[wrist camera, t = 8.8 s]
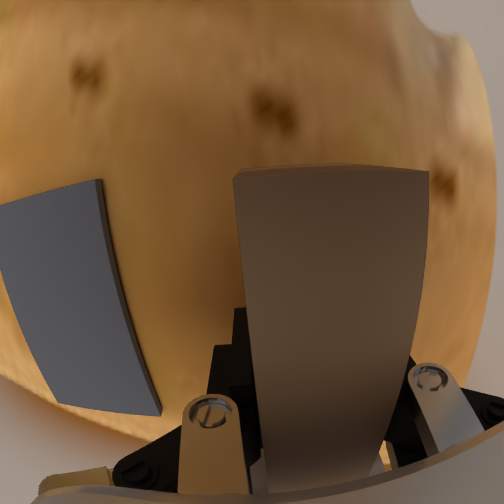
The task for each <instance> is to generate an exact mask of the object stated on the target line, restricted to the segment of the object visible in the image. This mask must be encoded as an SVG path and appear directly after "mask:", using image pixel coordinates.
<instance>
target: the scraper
mask: <svg viewBox="0 0 504 504" xmlns="http://www.w3.org/2000/svg"><path fill="white" fill-rule="evenodd" d="M233 187H234V197H235V207H236V216H237V226H238V236H239V245H240V254H241V264H242V273H243V282H244V291H245V300H246V309H247V318H248V327H249V335H250V344H251V353H252V361H253V370H254V378H255V386H256V395H257V403H258V411H259V419H260V427H261V435H262V443H263V449H261V458H260V459H259V460H258V461H257V462H256V463H254V464H253V465H252V466H251V467H250V471H251V478H252V484H253V491H254V494H267V493H279V492H289V491H297V490H305V489H312V488H318V487H324V486H329V485H335V484H340V483H344V482H349V481H353V480H358V479H362V478H366V477H370V476H373V475H377V474H380V473H384V472H386V471H385V468H384V465H383V462H382V460H381V457H380V454H379V450H380V448H381V445H382V442H383V440H384V437H385V435H386V432H387V429H388V426H389V423H390V421H391V418H392V415H393V412H394V409H395V406H396V402H397V399H398V396H399V393H400V389H401V386H402V382H403V379H404V375H405V371H406V367H407V363H408V359H409V355H410V351H411V346H412V342H413V337H414V332H415V327H416V322H417V317H418V311H419V305H420V299H421V292H422V285H423V277H424V269H425V259H426V248H427V235H428V216H429V172H428V171H420V170H411V169H403V168H393V167H383V166H371V165H358V164H342V163H331V164H307V165H289V166H275V167H262V168H250V169H241V170H240V171H239V173H238V174H237V175H236V176H235V177H234V178H233Z"/></svg>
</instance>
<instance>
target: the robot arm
mask: <svg viewBox="0 0 504 504" xmlns="http://www.w3.org/2000/svg"><path fill="white" fill-rule="evenodd" d="M384 440H385V441H386V448H387V451H388V455H389V459H390V463H391V467H392V470H391V471H387V472H384V473H380V474H377V475H373V476H370V477H366V478H362V479H358V480H353V481H349V482H344V483H340V484H335V485H329V486H324V487H318V488H312V489H305V490H297V491H289V492H279V493H267V494H254V491H253V484H252V478H251V471H250V467H251V466H252V465H253V464H254V463H256V462H257V461H258V460H259V459H260V458H261V449H263V443H262V435H261V427H260V419H259V411H258V403H257V395H256V386H255V378H254V370H253V361H252V353H251V344H250V335H249V327H248V318H247V309H246V307H244V308H235V310H234V322H233V334H232V344H227V345H215V346H214V351H213V357H212V363H211V369H210V376H209V382H208V388H207V395H202V396H200V397H197V398H195V399H193V400H192V401H191V402H189V403H188V404H187V406H186V407H185V408H184V412H183V417H182V425H181V426H179V427H177V428H176V429H174V430H172V431H171V432H169V433H167V434H166V435H164V436H162V437H160V438H159V439H157V440H155V441H153V442H152V443H150V444H148V445H146V446H145V447H143V448H141V449H139V450H137V451H135V452H134V453H132V454H130V455H128V456H126V457H124V458H123V459H121V460H120V461H119V462H118V463H117V464H116V466H115V467H114V468H112V469H107V467H106V466H104V467H99V468H94V469H88V470H83V471H77V472H70V473H63V474H54V475H51V476H47V477H46V478H45V479H44V480H42V482H41V484H40V485H39V491H38V495H39V496H38V497H37V498H36V499H35V500H34V501H33V502H32V503H31V504H504V399H503V398H500V397H497V396H492V395H488V394H484V393H480V392H476V391H472V390H468V389H464V388H461V387H459V385H458V384H457V382H456V381H455V379H454V377H453V376H452V374H451V373H450V372H449V371H448V369H446V368H445V367H443V366H442V365H439V364H436V363H421V364H418V365H417V364H416V363H415V362H414V360H413V359H412V357H411V356H410V355H409V359H408V363H407V367H406V371H405V375H404V379H403V382H402V386H401V389H400V393H399V396H398V399H397V402H396V406H395V409H394V412H393V415H392V418H391V421H390V423H389V426H388V429H387V432H386V435H385V437H384Z"/></svg>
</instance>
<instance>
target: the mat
mask: <svg viewBox="0 0 504 504" xmlns="http://www.w3.org/2000/svg"><path fill="white" fill-rule="evenodd" d="M0 270H1V273H2V277H3V280H4V283H5V286H6V290H7V293H8V296H9V299H10V301H11V304H12V307H13V310H14V312H15V315H16V318H17V320H18V323H19V325H20V328H21V330H22V333H23V335H24V337H25V340H26V342H27V344H28V346H29V348H30V351H31V353H32V355H33V357H34V359H35V361H36V363H37V365H38V367H39V369H40V371H41V373H42V375H43V377H44V379H45V381H46V382H47V384H48V386H49V388H50V390H51V391H52V393H53V395H54V397H55V398H56V400H57V402H58V403H61V404H66V405H71V406H77V407H82V408H88V409H94V410H101V411H108V412H116V413H125V414H134V415H146V416H160V417H161V414H162V408H161V406H160V403H159V401H158V398H157V396H156V393H155V391H154V388H153V385H152V383H151V380H150V378H149V375H148V372H147V369H146V367H145V364H144V361H143V358H142V355H141V352H140V349H139V346H138V343H137V340H136V337H135V334H134V330H133V327H132V324H131V321H130V317H129V314H128V310H127V307H126V303H125V299H124V296H123V292H122V288H121V284H120V280H119V276H118V272H117V268H116V263H115V259H114V254H113V250H112V245H111V240H110V235H109V230H108V224H107V218H106V213H105V207H104V200H103V193H102V186H101V179H96V180H92V181H87V182H83V183H79V184H74V185H70V186H66V187H62V188H59V189H55V190H51V191H47V192H44V193H40V194H36V195H33V196H30V197H26V198H23V199H20V200H16V201H13V202H10V203H7V204H4V205H1V206H0Z"/></svg>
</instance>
